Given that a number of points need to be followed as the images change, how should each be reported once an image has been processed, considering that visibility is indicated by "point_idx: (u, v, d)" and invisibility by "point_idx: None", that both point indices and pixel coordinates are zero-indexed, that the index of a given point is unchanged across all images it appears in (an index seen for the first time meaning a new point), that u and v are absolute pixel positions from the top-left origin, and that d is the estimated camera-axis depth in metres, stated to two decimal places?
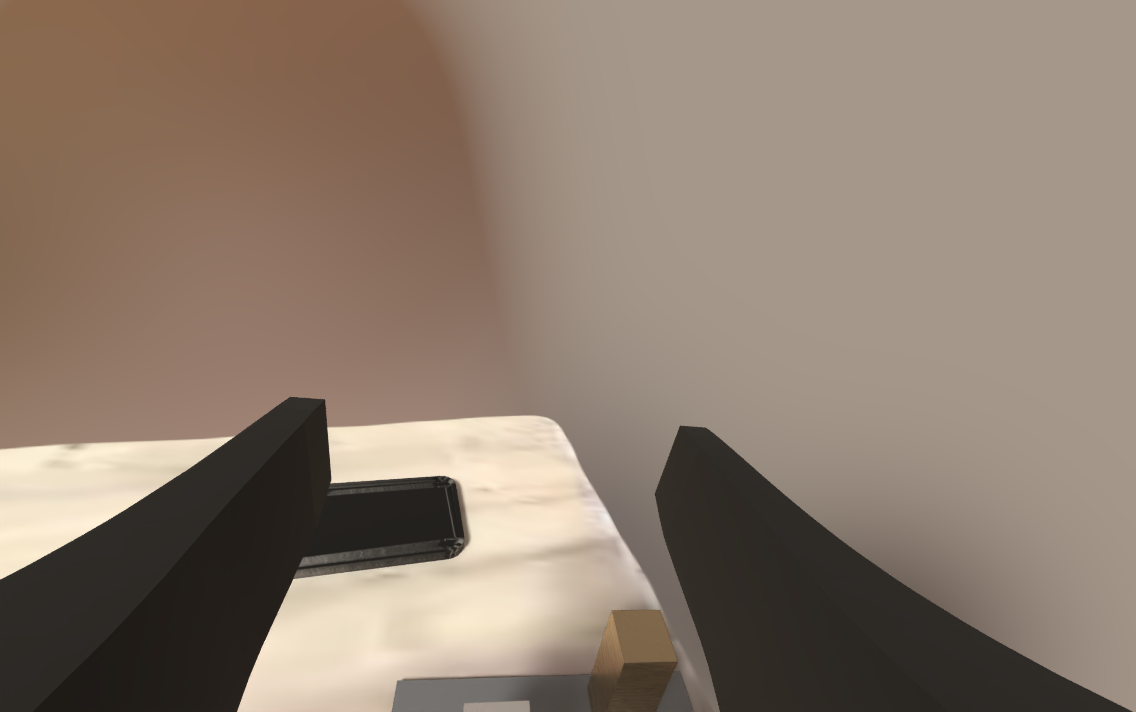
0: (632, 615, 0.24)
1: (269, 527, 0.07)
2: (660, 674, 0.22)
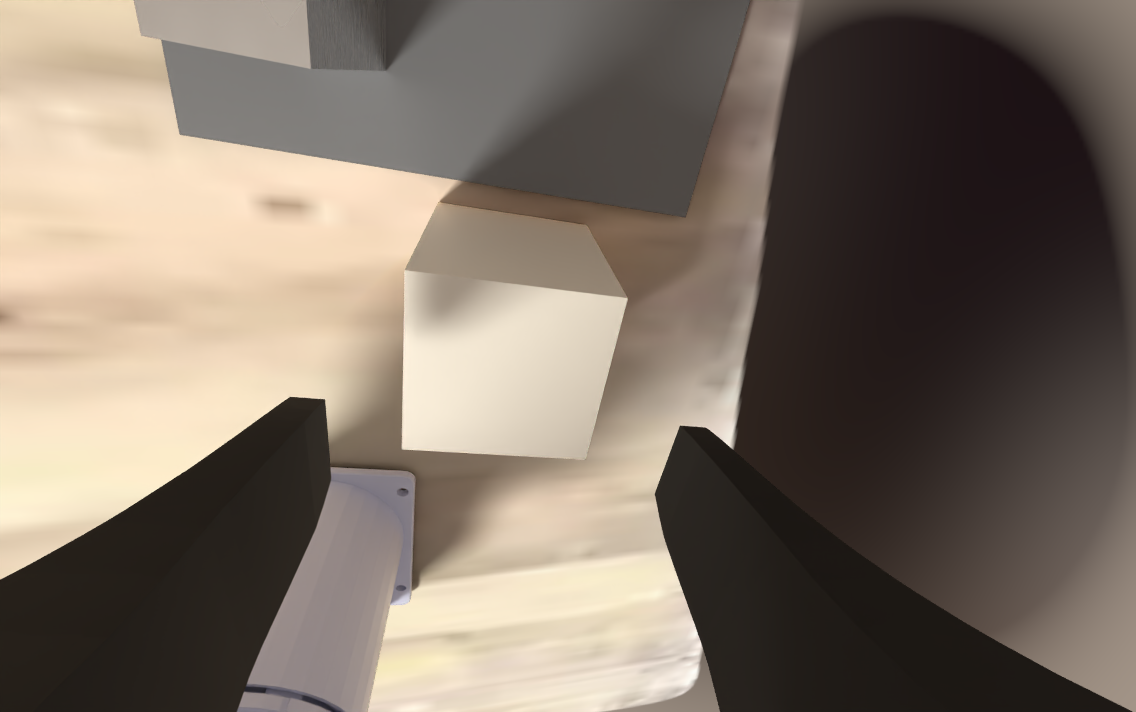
0: None
1: (269, 527, 0.07)
2: None
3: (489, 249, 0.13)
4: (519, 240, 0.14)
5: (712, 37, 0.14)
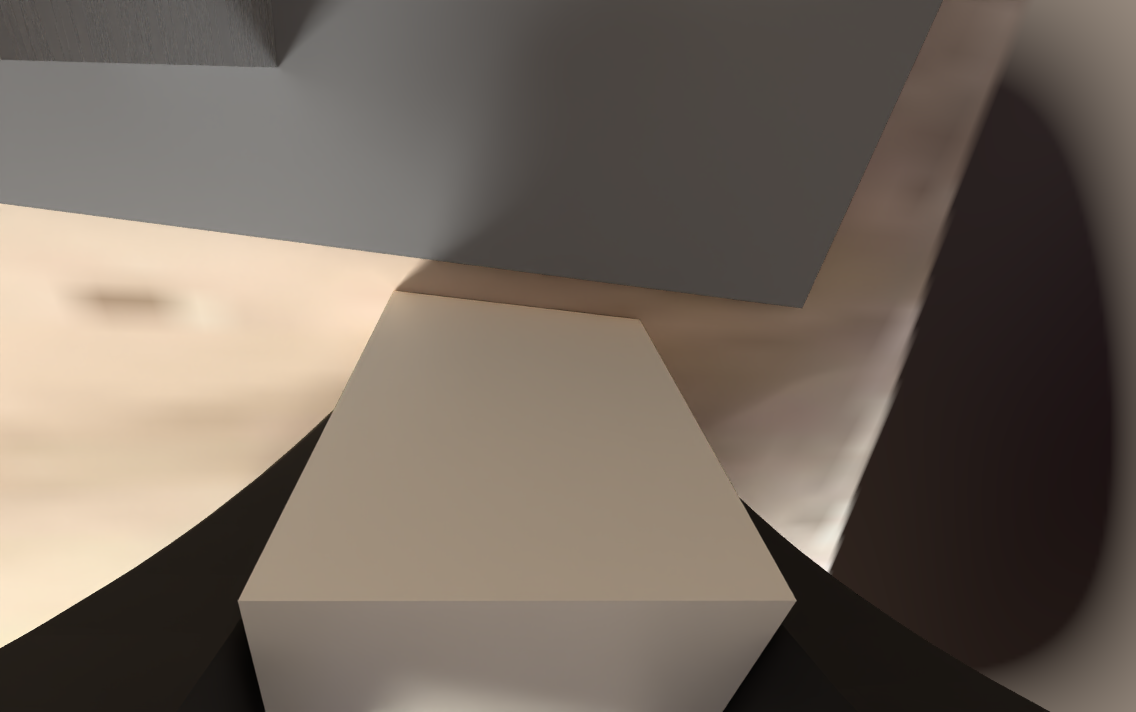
0: None
1: None
2: None
3: (474, 436, 0.06)
4: (533, 389, 0.07)
5: (892, 5, 0.08)
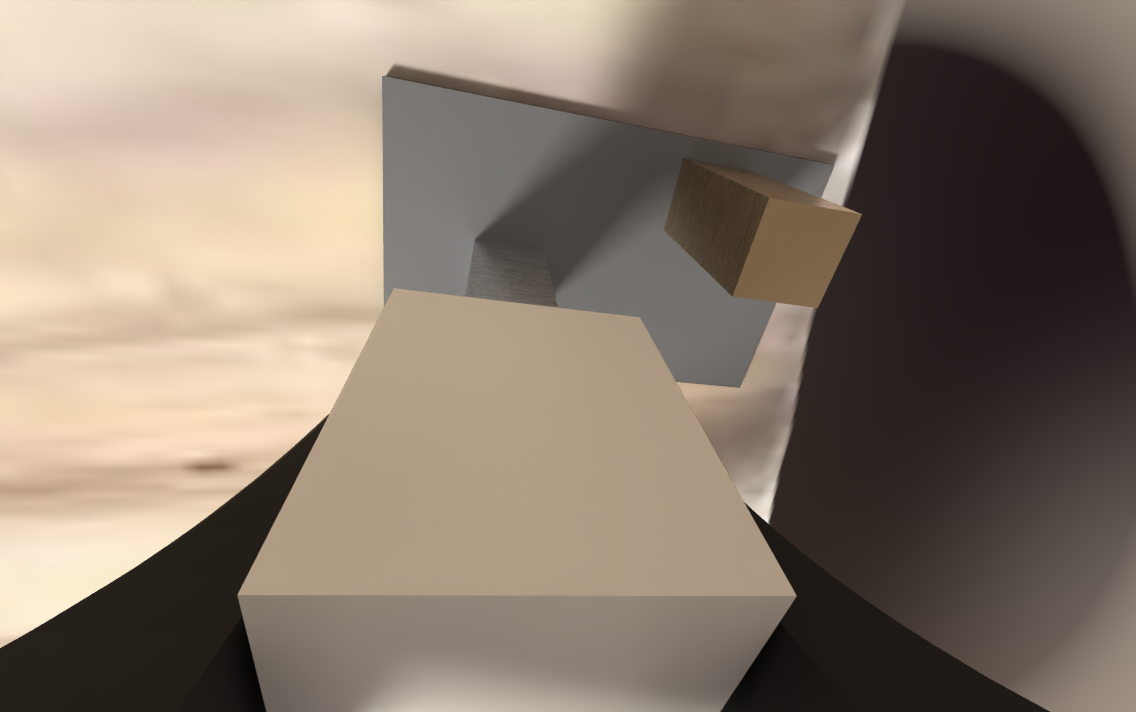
0: (803, 215, 0.12)
1: None
2: None
3: (474, 432, 0.06)
4: (533, 386, 0.07)
5: None
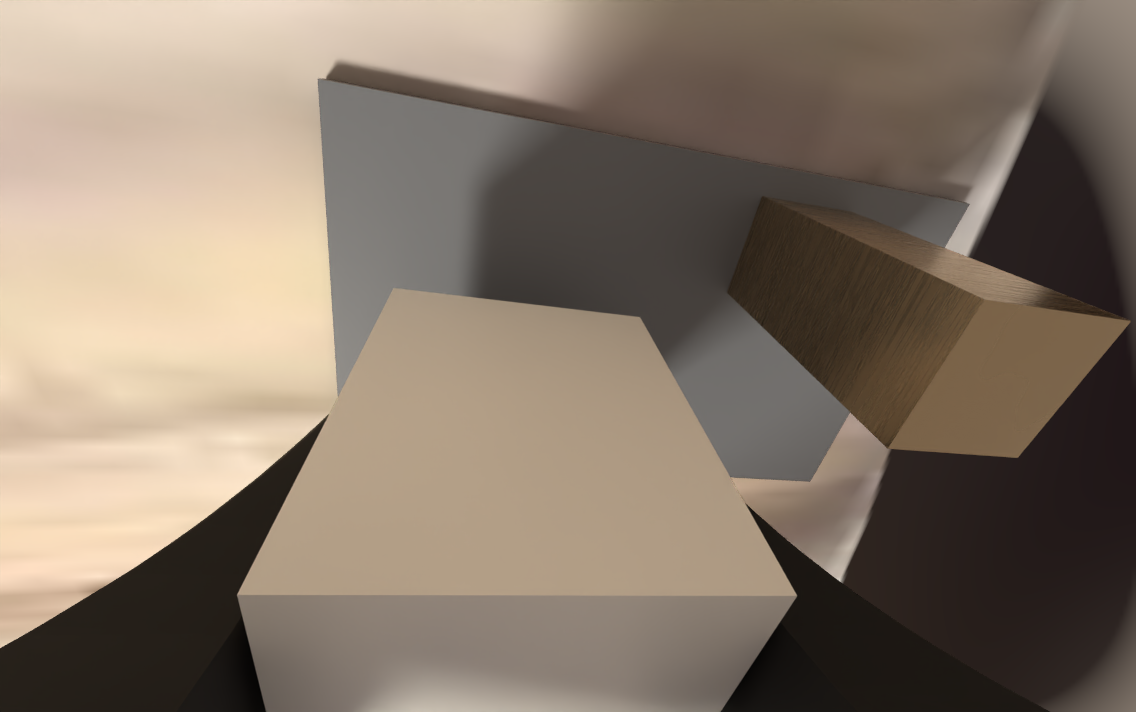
0: (1034, 326, 0.07)
1: None
2: None
3: (474, 432, 0.06)
4: (533, 385, 0.07)
5: None
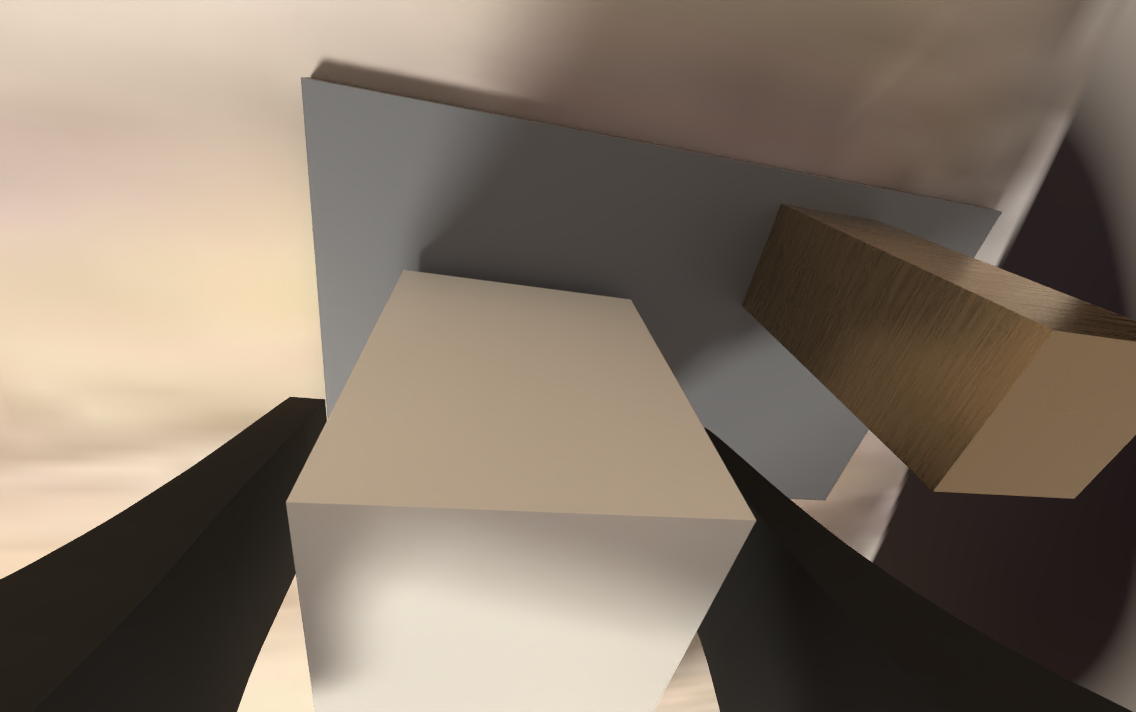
0: (1107, 358, 0.06)
1: (269, 527, 0.07)
2: None
3: (479, 389, 0.07)
4: (532, 354, 0.08)
5: None
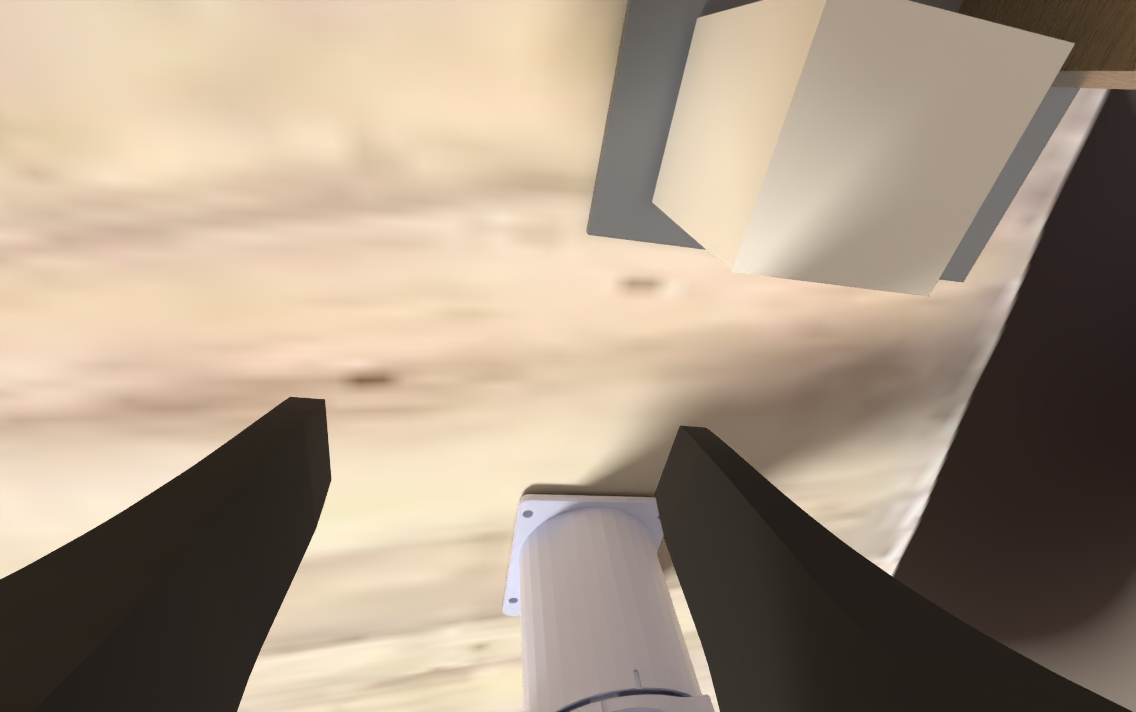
0: None
1: (269, 527, 0.07)
2: None
3: None
4: None
5: (1027, 141, 0.17)
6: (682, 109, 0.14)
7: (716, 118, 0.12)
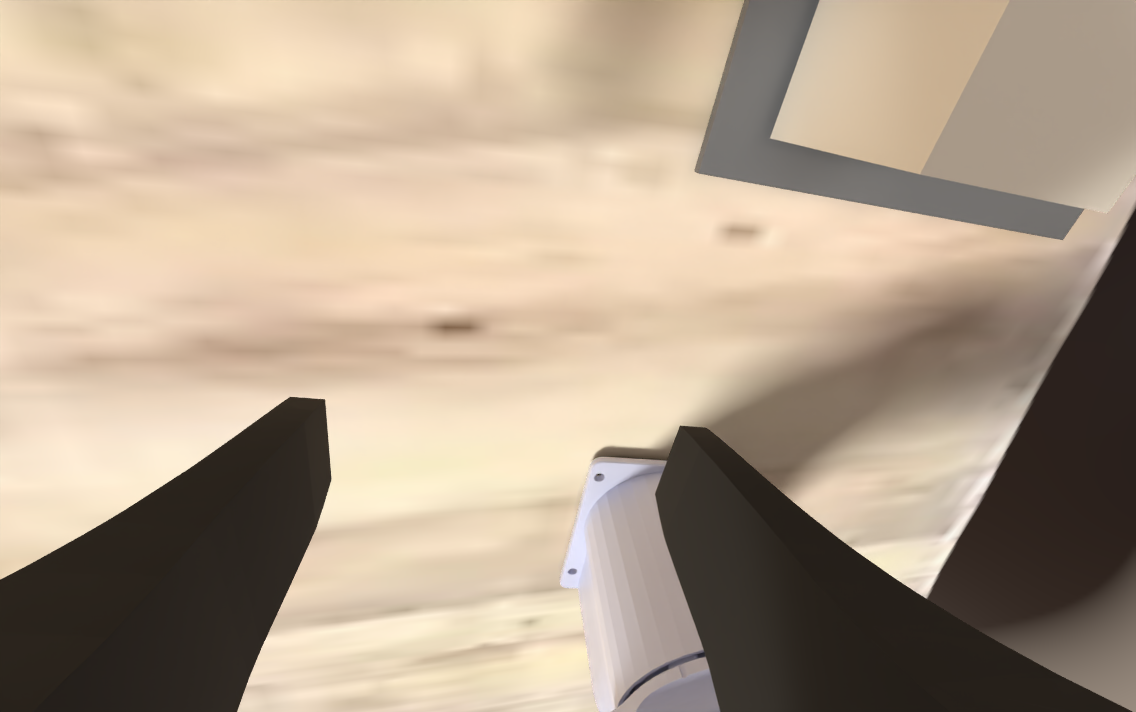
0: None
1: (269, 527, 0.07)
2: None
3: None
4: None
5: None
6: (820, 33, 0.14)
7: (883, 26, 0.11)
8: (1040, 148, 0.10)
